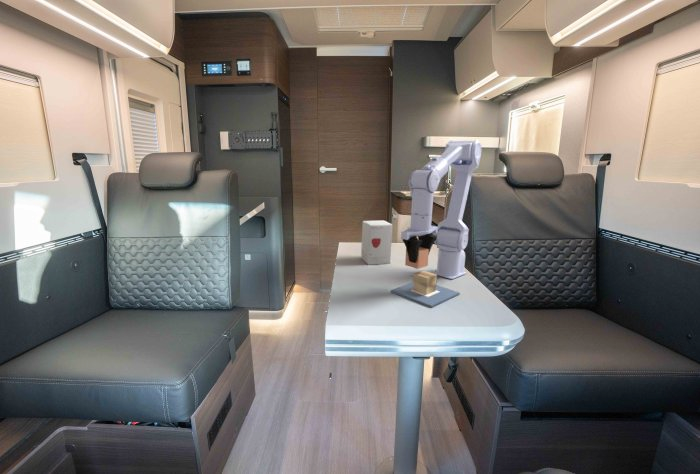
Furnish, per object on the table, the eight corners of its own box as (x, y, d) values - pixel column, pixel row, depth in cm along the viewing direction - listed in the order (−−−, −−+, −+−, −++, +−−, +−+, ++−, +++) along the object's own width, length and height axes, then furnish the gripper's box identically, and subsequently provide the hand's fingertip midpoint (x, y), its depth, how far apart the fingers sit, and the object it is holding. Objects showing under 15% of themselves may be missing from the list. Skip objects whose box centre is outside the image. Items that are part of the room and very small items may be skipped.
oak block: (422, 286, 101) (423, 270, 100) (435, 291, 98) (436, 274, 96) (413, 290, 98) (414, 273, 97) (426, 295, 95) (427, 278, 93)
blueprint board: (419, 281, 107) (419, 279, 107) (459, 294, 97) (459, 292, 97) (390, 292, 98) (391, 289, 98) (431, 307, 88) (431, 305, 88)
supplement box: (367, 265, 122) (369, 224, 119) (360, 258, 131) (361, 220, 127) (391, 263, 125) (393, 224, 121) (382, 257, 133) (384, 219, 130)
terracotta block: (414, 262, 101) (415, 246, 100) (427, 265, 98) (428, 249, 97) (405, 265, 98) (406, 248, 97) (418, 268, 95) (419, 251, 94)
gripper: (425, 209, 102) (422, 253, 105) (393, 214, 92) (391, 261, 95) (445, 212, 97) (441, 258, 100) (414, 217, 87) (411, 267, 90)
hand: (418, 260), depth 97 cm, fingers closed on terracotta block, 5 cm apart
